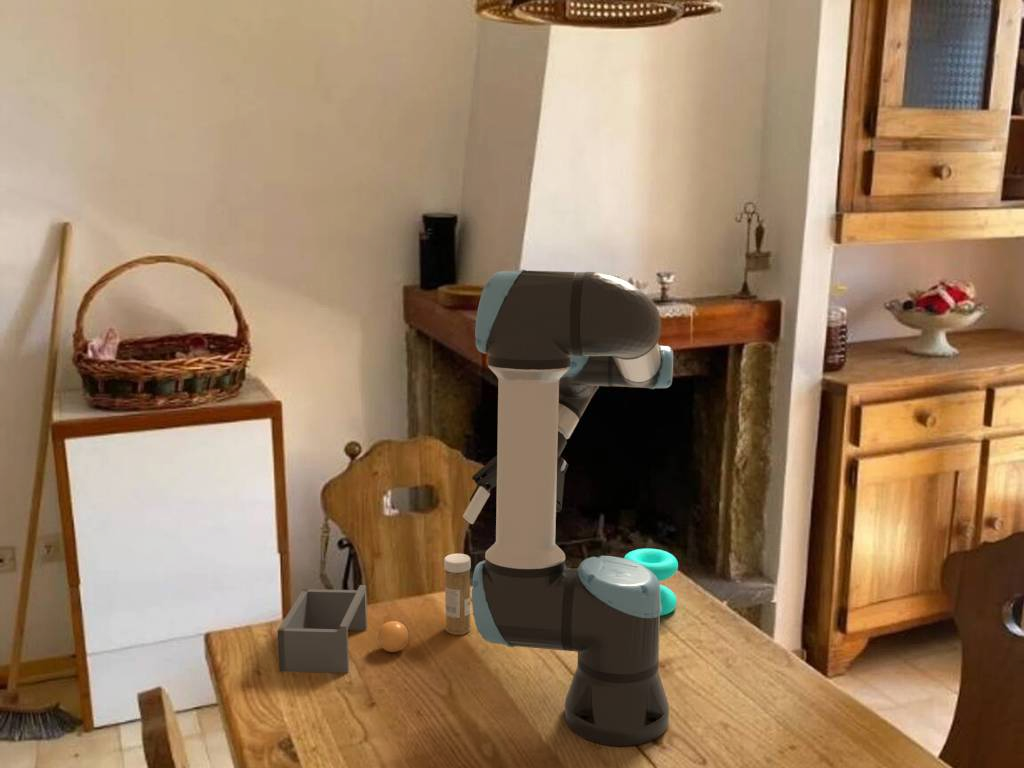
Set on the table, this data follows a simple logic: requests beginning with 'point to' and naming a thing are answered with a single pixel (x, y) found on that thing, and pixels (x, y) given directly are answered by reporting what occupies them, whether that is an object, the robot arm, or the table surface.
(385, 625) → the ball
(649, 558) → the donuts
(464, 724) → the table surface
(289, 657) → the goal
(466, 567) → the sprinkles bottle
